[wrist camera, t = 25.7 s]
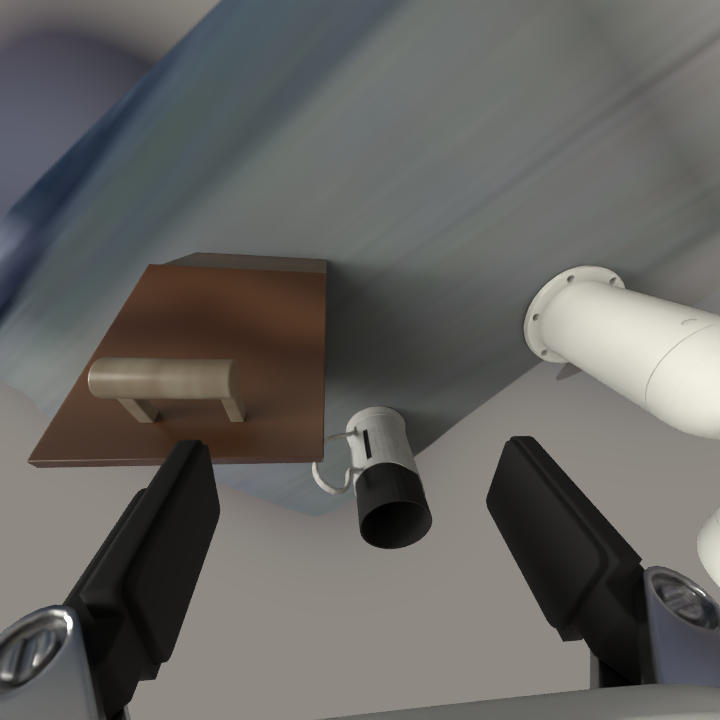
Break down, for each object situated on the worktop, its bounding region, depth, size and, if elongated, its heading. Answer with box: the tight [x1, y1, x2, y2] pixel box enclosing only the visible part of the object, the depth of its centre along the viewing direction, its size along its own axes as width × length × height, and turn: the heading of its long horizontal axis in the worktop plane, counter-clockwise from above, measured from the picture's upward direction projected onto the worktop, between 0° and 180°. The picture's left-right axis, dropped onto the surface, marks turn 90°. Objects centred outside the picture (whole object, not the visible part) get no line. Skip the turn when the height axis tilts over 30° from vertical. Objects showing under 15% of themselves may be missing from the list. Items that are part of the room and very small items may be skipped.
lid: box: [27, 264, 327, 468], centre depth 18 cm, size 16×14×5 cm
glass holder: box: [312, 406, 432, 549], centre depth 38 cm, size 9×14×15 cm, turn 57°
